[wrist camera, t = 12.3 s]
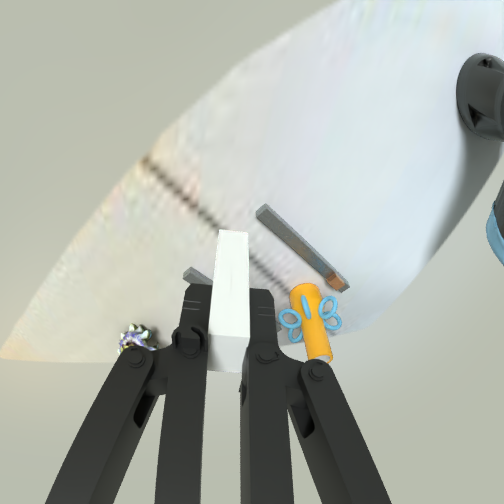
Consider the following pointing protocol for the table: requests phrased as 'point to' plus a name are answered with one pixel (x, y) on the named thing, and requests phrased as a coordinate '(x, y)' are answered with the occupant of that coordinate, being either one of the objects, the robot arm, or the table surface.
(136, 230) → the table surface
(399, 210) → the table surface
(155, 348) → the passion flower
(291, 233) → the guide track
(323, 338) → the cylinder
